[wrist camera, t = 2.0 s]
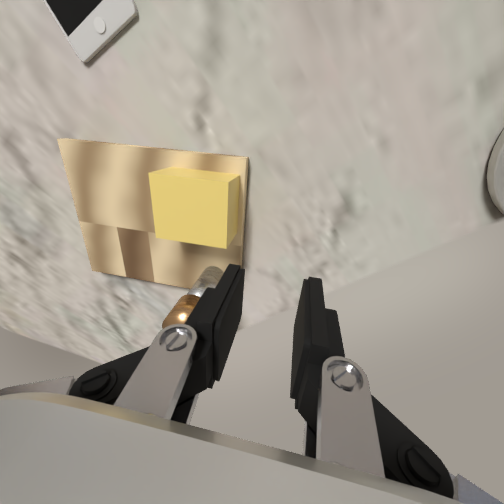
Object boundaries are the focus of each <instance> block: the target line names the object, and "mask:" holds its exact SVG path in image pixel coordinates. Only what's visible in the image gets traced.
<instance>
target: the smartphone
mask: <svg viewBox="0 0 504 504" xmlns="http://www.w3.org/2000/svg"><path fill="white" fill-rule="evenodd" d="M43 1H44V3H45V4H46V6H47V8H48V9H49V11H50V12H51V14H52V16H53V17H54V19H55V21H56V22H57V24H58V25H59V27H60V29H61V30H62V32H63V34H64V35H65V37H66V38H67V40H68V42H69V43H70V45H71V47H72V48H73V50H74V51H75V53H76V55H77V56H78V58H79V59H80V60H81V61H83V62H86V63H88V62H89V61H90V60H91V59H92V58H93V57H94V56H95V55H96V54H97V53H98V52H99V51H100V50H101V49H102V48H104V47H105V46H106V45H107V44H108V43H109V42H110V41H111V40H112V39H113V38H114V37H115V36H116V35H117V34H118V33H119V32H120V31H121V30H122V29H123V28H124V27H125V26H127V25H128V24H129V23H130V22H131V21H132V20H133V19H134V18H135V17H136V16H137V15H138V10H137V7H136V4H135V2H134V0H43Z"/></svg>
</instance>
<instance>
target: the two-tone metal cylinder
mask: <svg viewBox="0 0 504 504" xmlns="http://www.w3.org/2000/svg"><path fill="white" fill-rule="evenodd" d="M223 273H224V272H223V271H222V270H221V269H220V268H218V267H216V266H209V267H207V268H206V269H205V270H204V271H203V272H202V274H201V275H200V277H199V278H198V279H197V281H196V282H195V284H194V285H193V286H192V288H191V289H190V291H189V292H188V293H187V295H184V296H182V297H181V298H180V299H179V301H178V302H177V303H176V305H175V306H174V307H173V309H172V310H171V311H170V313H169V314H168V315H167V317H166V318H165V320H164V321H163V323H162V328H163V329H164V328H165V327H167V326H170V325H173V324H184V323H185V322H186V320H187V318H188V317H189V315H190V314H191V312H192V310H193V309H194V307H195V306H196V304H197V302H198V301H199V299H200V298H201V296H202V294H203V293H204V291H205V290H206V288H208V287H211V288H215V287H216V286H217V284H218V282H219V280H220V279H221V277H222V275H223Z"/></svg>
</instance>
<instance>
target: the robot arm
mask: <svg viewBox="0 0 504 504" xmlns="http://www.w3.org/2000/svg"><path fill="white" fill-rule="evenodd" d="M487 184H488V191H489V194H490V196H491V199H492V201H493V203H494V204H495V206H496V207H497V208H498V209H499V211H500V212H501V213H503V214H504V129H503V131H502V133H501V135H500V136H499V138H498V140H497V142H496V144H495V146H494V148H493V151H492V154H491V157H490V160H489V164H488V172H487ZM244 275H245V269H241V265H236V264H229V265H228V266H227V268H226V270H225V272H224V273H223V275H222V277H221V279H220V280H219V282H218V284H217V286H216V287H215V288H211V287H208V288H206V290H205V291H204V293H203V294H202V296H201V298H200V299H199V301H198V302H197V304H196V306H195V307H194V309H193V310H192V312H191V314H190V315H189V317H188V318H187V320H186V322H185V323H184V324H173V325H170V326H167V327H165V328H164V329H162V330H161V331H160V332H159V333H158V334H157V335H156V337H155V339H154V340H153V342H152V344H151V345H150V346H149V347H147V348H144V349H142V350H139V351H136V352H134V353H131V354H129V355H126V356H123V357H121V358H118V359H116V360H113V361H111V362H108V363H105V364H103V365H100V366H98V367H95V368H93V369H91V370H89V371H87V372H85V373H84V374H83V375H81V376H80V377H79V378H78V379H74V376H69V377H63V378H58V379H52V380H46V381H41V382H35V383H29V384H23V385H18V386H12V387H7V388H4V389H1V390H0V504H503V503H502V502H500V501H499V500H497V499H496V498H494V497H493V496H491V495H490V494H488V493H487V492H485V491H484V490H482V489H481V488H479V487H477V486H476V485H475V484H473V483H472V482H470V481H469V480H467V479H465V478H464V477H462V476H461V475H459V474H458V475H457V476H456V477H455V476H454V475H452V474H450V473H449V472H448V470H447V468H446V467H445V465H444V464H443V463H442V461H441V460H440V459H439V458H438V457H437V455H436V454H435V453H434V452H433V451H432V450H431V449H430V448H429V447H428V446H427V445H425V444H424V443H423V442H422V441H421V440H420V439H419V438H418V437H417V436H416V435H415V434H414V433H412V432H411V431H410V430H409V429H408V428H407V427H406V426H405V425H404V424H403V423H402V422H401V421H400V420H398V419H397V418H396V417H395V416H394V415H393V414H392V413H391V412H390V411H389V410H388V409H387V408H385V407H384V406H383V405H382V404H381V403H380V402H379V401H378V400H377V399H376V398H375V397H374V396H372V395H371V393H370V387H369V381H368V378H367V375H366V374H365V372H364V371H363V369H362V368H361V367H360V366H359V365H357V364H356V363H355V362H353V361H352V360H350V359H347V358H345V354H344V348H343V343H342V338H341V333H340V326H339V322H338V315H337V311H335V310H332V309H326V308H325V304H324V295H323V287H322V279H320V278H314V277H309V278H308V280H307V279H304V281H303V286H302V290H301V295H300V300H299V305H298V309H297V315H296V319H295V324H294V335H293V353H292V371H291V390H290V398H292V399H295V409H298V412H299V413H300V414H301V416H302V417H303V418H304V419H305V428H304V441H303V455H300V454H296V453H292V452H289V451H285V450H281V449H277V448H274V447H270V446H266V445H263V444H259V443H255V442H251V441H247V440H243V439H240V438H237V437H233V436H229V435H225V434H221V433H218V432H214V431H210V430H206V429H203V428H199V427H195V426H191V425H190V421H191V418H192V415H193V412H194V409H195V406H196V402H197V399H198V395H199V393H200V392H202V391H203V390H205V389H207V388H211V389H212V387H213V384H214V382H215V380H216V381H219V380H220V378H221V375H222V372H223V369H224V366H225V363H226V360H227V358H228V355H229V352H230V349H231V346H232V343H233V340H234V337H235V334H236V331H237V328H238V325H239V322H240V319H241V315H242V303H243V289H244Z"/></svg>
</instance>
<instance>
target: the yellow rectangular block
mask: <svg viewBox="0 0 504 504" xmlns="http://www.w3.org/2000/svg"><path fill="white" fill-rule="evenodd" d="M148 174H149V183H150V191H151V200H152V209H153V217H154V226H155V234H156V238H161V239H167V240H173V241H180V242H186V243H192V244H199V245H205V246H211V247H218V248H224V249H227V247H228V246H229V244H230V243H231V241H232V240H233V238H234V237H235V235H236V234H237V224H238V205H239V185H240V175H239V174H230V173H221V172H212V171H204V170H195V169H186V168H177V167H169V168H165V169H161V170H157V171H154V172H150V173H148Z"/></svg>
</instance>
